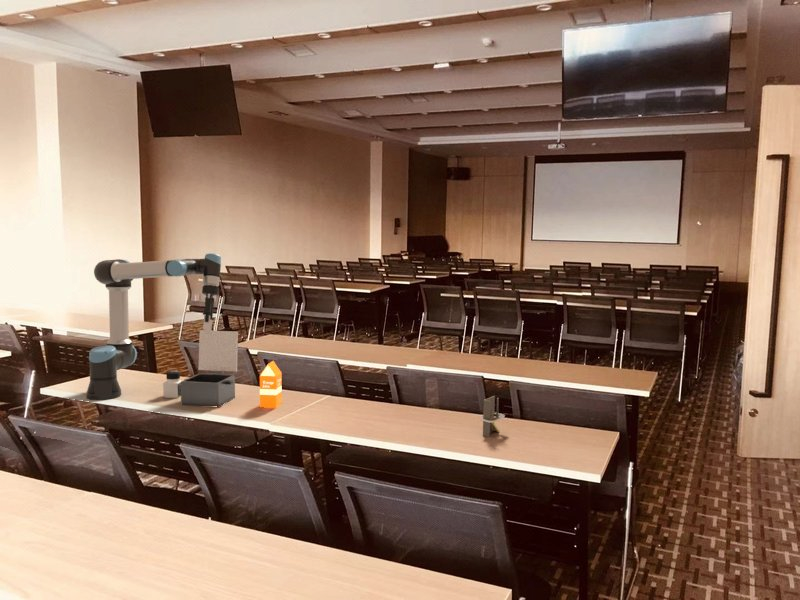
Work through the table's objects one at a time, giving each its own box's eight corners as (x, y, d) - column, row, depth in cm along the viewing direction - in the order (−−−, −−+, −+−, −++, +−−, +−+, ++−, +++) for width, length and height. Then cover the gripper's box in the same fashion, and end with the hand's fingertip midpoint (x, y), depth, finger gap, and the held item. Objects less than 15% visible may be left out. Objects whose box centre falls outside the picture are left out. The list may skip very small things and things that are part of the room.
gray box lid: (198, 372, 305) (201, 371, 308) (235, 374, 302) (238, 373, 305) (199, 330, 305) (202, 330, 308) (237, 331, 302) (239, 331, 305)
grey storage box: (194, 395, 306) (194, 373, 305) (239, 398, 303) (239, 375, 302) (176, 405, 289) (175, 381, 288) (223, 407, 285) (223, 383, 284)
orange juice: (282, 403, 294) (281, 360, 293) (276, 408, 286) (276, 364, 284) (265, 402, 295) (265, 360, 293) (259, 407, 286) (259, 363, 285)
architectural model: (528, 432, 256) (529, 396, 255) (499, 447, 236) (500, 409, 235) (485, 423, 268) (486, 389, 266) (454, 437, 248) (454, 400, 246)
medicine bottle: (178, 398, 302) (177, 373, 301) (163, 397, 302) (162, 372, 301) (183, 394, 309) (183, 370, 308) (169, 394, 309) (168, 369, 308)
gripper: (217, 281, 291) (213, 328, 287) (220, 291, 314) (216, 335, 310) (200, 280, 289) (196, 327, 285) (204, 290, 312) (200, 334, 308)
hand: (207, 331), depth 298 cm, fingers open, 12 cm apart
